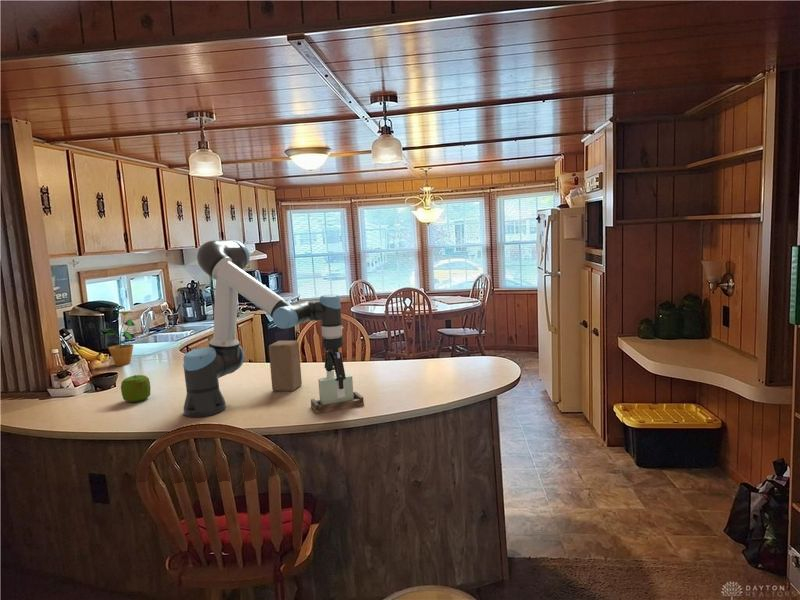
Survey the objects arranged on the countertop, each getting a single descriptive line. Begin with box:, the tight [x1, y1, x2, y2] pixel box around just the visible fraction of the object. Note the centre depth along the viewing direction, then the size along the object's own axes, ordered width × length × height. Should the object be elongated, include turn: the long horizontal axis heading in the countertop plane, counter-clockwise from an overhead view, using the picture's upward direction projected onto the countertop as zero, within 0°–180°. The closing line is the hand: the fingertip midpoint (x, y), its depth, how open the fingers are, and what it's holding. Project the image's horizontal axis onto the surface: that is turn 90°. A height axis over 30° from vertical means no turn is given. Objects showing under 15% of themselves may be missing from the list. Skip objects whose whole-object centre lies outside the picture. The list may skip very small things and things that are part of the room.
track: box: [310, 391, 365, 415], centre depth 199 cm, size 18×9×3 cm, turn 113°
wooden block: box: [268, 339, 303, 392], centre depth 226 cm, size 10×10×20 cm
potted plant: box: [98, 311, 136, 367], centre depth 292 cm, size 18×19×30 cm
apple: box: [120, 374, 151, 403], centre depth 221 cm, size 11×11×11 cm
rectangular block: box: [317, 373, 354, 405], centre depth 198 cm, size 12×4×10 cm, turn 112°
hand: (336, 392), depth 198 cm, fingers open, 13 cm apart
